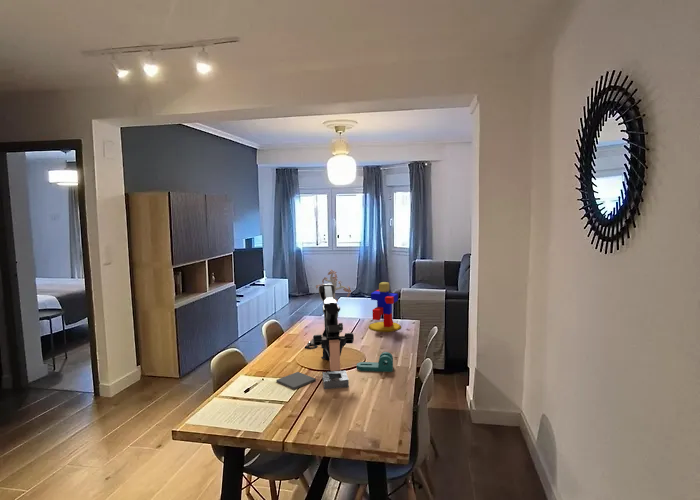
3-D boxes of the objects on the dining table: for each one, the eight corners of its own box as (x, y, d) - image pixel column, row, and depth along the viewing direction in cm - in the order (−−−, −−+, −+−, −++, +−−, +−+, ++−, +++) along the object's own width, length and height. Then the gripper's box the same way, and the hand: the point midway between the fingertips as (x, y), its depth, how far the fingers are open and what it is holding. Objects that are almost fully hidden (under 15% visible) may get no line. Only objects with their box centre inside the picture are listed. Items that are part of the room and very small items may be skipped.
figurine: (405, 324, 294) (404, 280, 291) (395, 333, 274) (394, 286, 271) (375, 321, 303) (374, 279, 299) (363, 330, 283) (362, 284, 280)
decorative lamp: (352, 337, 267) (351, 273, 263) (314, 338, 268) (312, 274, 264) (352, 325, 295) (351, 266, 291) (318, 325, 295) (316, 267, 291)
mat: (298, 373, 212) (297, 371, 212) (315, 380, 203) (315, 378, 203) (276, 381, 203) (276, 379, 203) (294, 389, 194) (293, 387, 194)
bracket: (393, 367, 218) (392, 352, 218) (392, 372, 212) (392, 356, 211) (357, 366, 221) (357, 351, 220) (355, 371, 214) (355, 355, 214)
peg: (329, 367, 201) (329, 340, 200) (339, 366, 202) (338, 339, 200) (330, 371, 197) (329, 343, 195) (340, 370, 197) (339, 342, 196)
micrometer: (315, 350, 247) (315, 345, 247) (303, 349, 249) (303, 345, 249) (324, 342, 262) (323, 337, 261) (313, 341, 264) (312, 337, 263)
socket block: (322, 379, 205) (322, 372, 204) (345, 377, 206) (345, 370, 206) (324, 389, 194) (324, 381, 193) (348, 387, 195) (348, 379, 195)
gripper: (312, 318, 199) (314, 349, 190) (352, 315, 202) (356, 346, 192) (312, 329, 208) (314, 360, 198) (351, 327, 210) (354, 357, 201)
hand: (334, 356), depth 197 cm, fingers closed on peg, 4 cm apart
